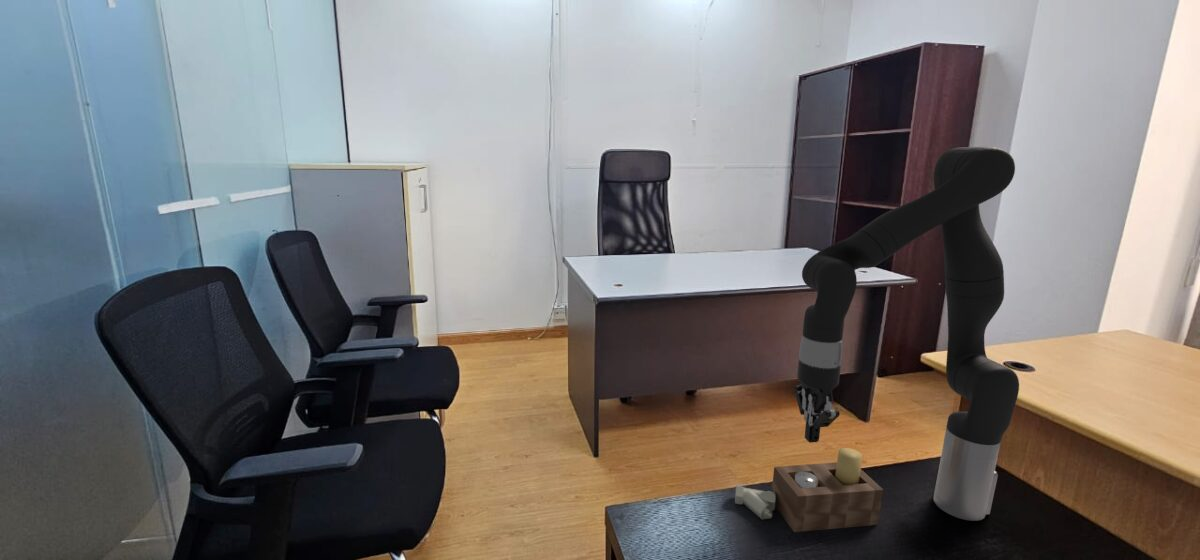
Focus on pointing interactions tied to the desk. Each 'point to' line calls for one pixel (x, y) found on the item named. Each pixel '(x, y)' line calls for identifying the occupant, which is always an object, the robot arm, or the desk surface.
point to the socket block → (825, 499)
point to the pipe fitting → (756, 501)
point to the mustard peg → (848, 466)
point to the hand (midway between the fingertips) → (811, 440)
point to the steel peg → (806, 480)
